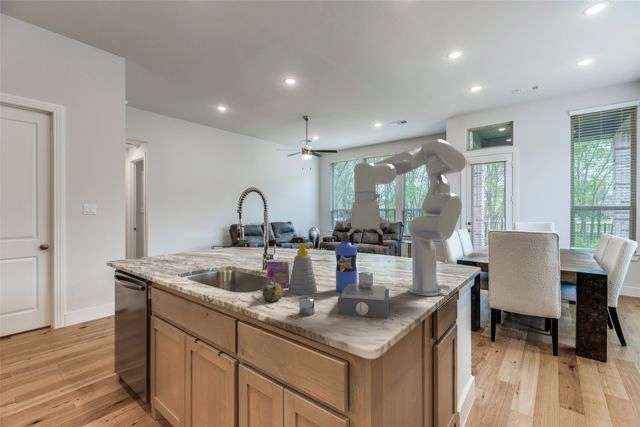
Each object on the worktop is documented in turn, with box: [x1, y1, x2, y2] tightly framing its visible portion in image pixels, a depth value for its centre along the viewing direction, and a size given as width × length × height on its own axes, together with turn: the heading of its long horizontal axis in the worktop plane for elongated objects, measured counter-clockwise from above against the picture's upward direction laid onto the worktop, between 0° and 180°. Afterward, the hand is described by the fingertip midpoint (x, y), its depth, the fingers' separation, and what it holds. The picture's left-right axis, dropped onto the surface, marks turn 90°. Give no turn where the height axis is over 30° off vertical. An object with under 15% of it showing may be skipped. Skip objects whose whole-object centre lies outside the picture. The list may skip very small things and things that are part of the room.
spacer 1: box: [298, 295, 315, 317], centre depth 95 cm, size 5×5×5 cm
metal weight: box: [358, 271, 374, 289], centre depth 104 cm, size 5×5×5 cm
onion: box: [262, 280, 284, 302], centre depth 110 cm, size 8×8×8 cm
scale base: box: [337, 287, 390, 319], centre depth 100 cm, size 16×17×5 cm
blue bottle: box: [334, 231, 358, 294], centre depth 123 cm, size 9×9×25 cm
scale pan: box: [340, 284, 387, 301], centre depth 100 cm, size 14×14×1 cm
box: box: [266, 258, 293, 289], centre depth 132 cm, size 10×6×12 cm, turn 80°
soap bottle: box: [287, 243, 318, 296], centre depth 123 cm, size 12×12×20 cm
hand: (366, 245), depth 104 cm, fingers open, 9 cm apart
